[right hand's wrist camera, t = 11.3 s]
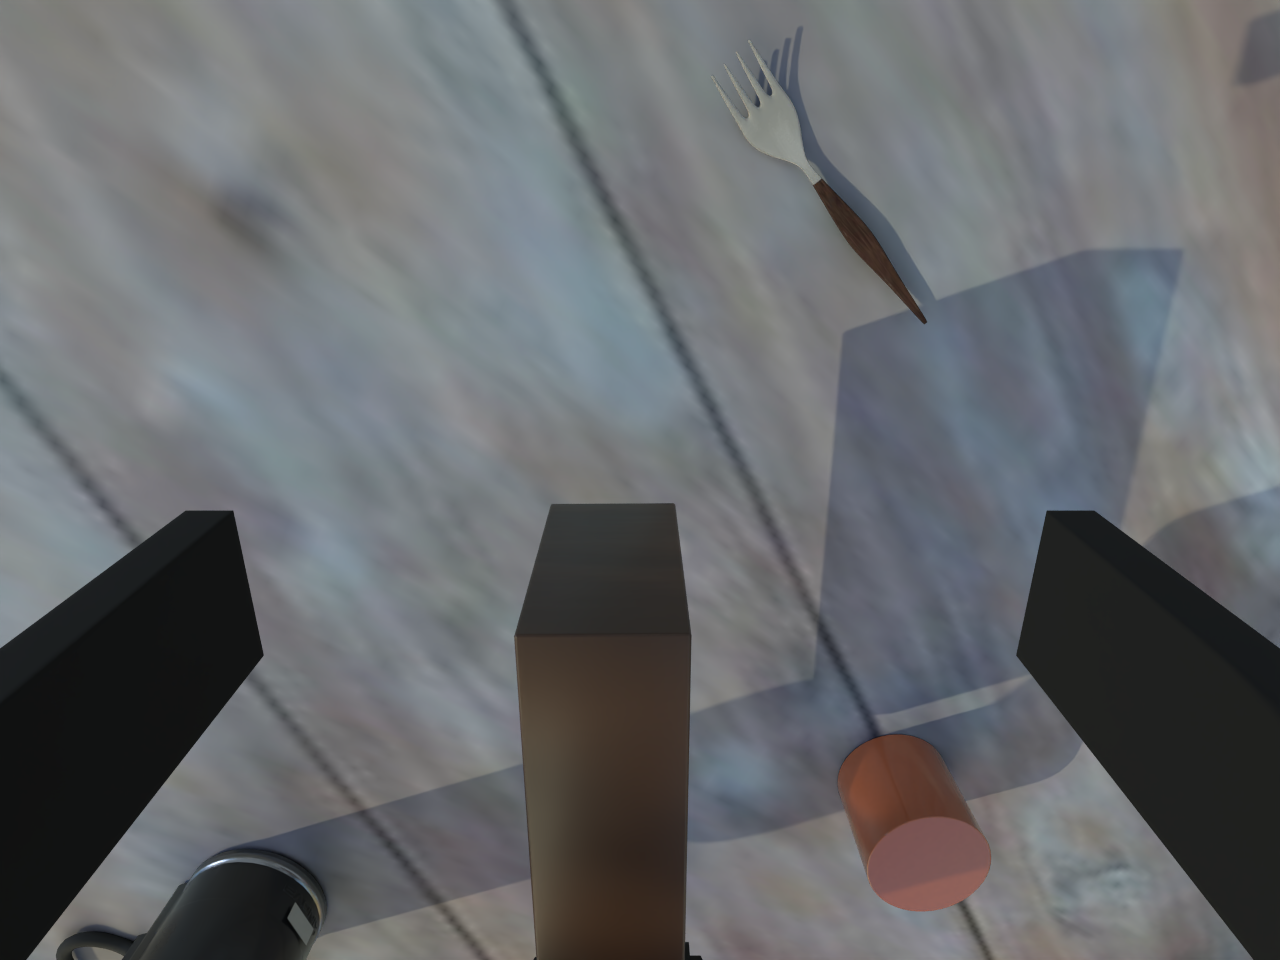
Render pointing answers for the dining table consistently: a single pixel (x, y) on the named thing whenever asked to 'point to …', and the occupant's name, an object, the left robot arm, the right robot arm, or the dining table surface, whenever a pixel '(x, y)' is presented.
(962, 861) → the orange clay cylinder
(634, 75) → the dining table surface
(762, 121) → the fork
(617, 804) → the walnut box
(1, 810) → the right robot arm
